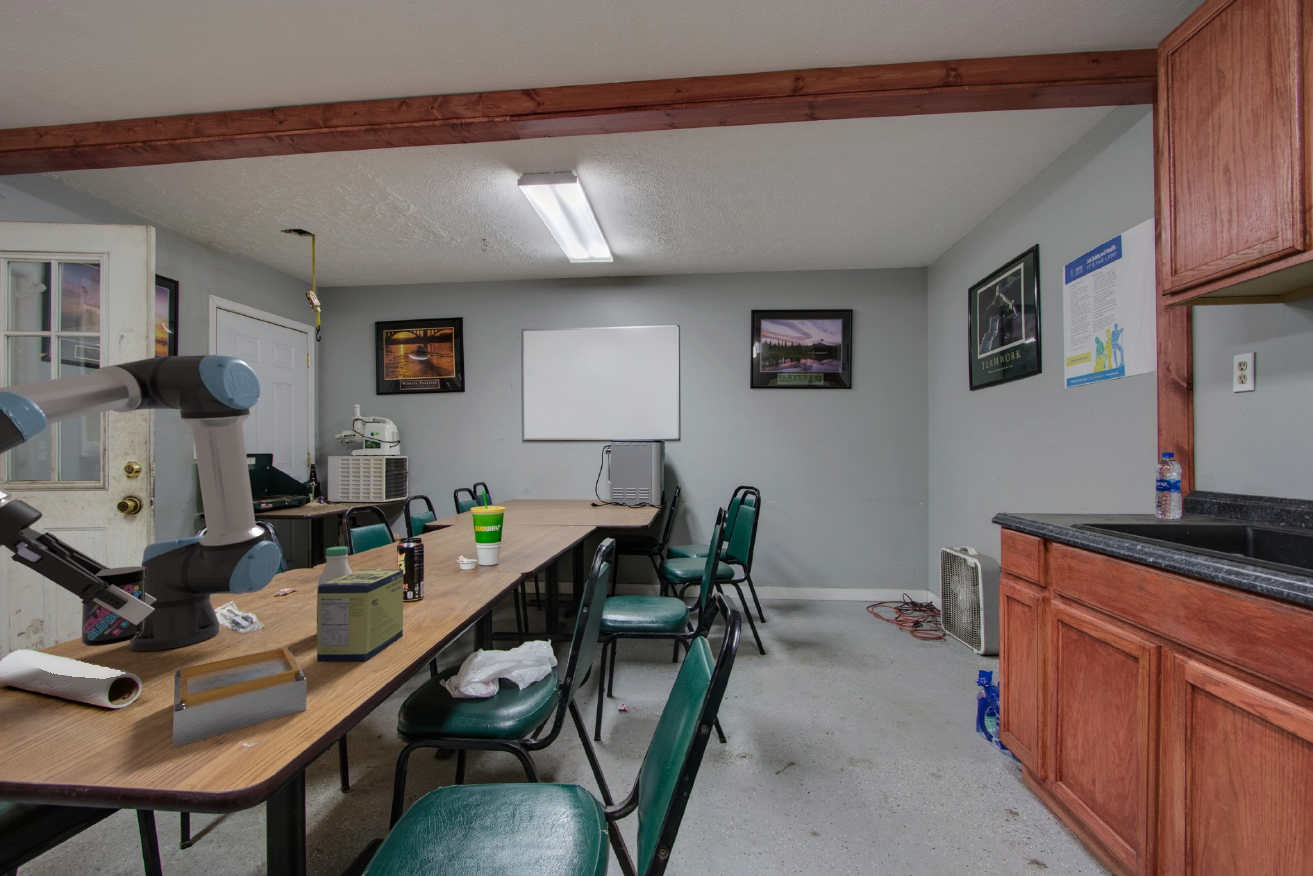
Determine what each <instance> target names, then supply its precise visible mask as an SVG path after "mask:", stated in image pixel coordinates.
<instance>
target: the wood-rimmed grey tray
mask: <svg viewBox="0 0 1313 876" xmlns="http://www.w3.org/2000/svg"><path fill="white" fill-rule="evenodd" d="M307 683H308V680H307V677H306V673H304V671H302V669H301V666H300V665H299V663H298V662H297V660H296V658H295V656H294V655H293V653H292V651H291V647H288V646H285V647H284V646H283V647H279V648H276V649H270V650H269V649H268V650H264V651H259V652H255V653H249V654H245V655H241V656H236V657H231V658H227V659H226V658H225V659H221V660H218V661H217V660H216V661H212V662H208V663H202V664H198V665H193V666H188V667H187V666H186V667H183V668H180V669H178V670H176V671H175V674H174V684H173V685H174V688H173V689H174V691H173V724H172V725H173V726H172V748H177V747H181V746H184V745H187V744H191V743H194V742H198V741H202V740H205V739H210V738H212V737H216V736H220V735H223V734H226V733H230V732H234V731H237V730H241V729H245V728H248V727H252V726H256V725H259V724H262V723H266V722H269V720H270V721H273V720H276V719H280V718H283V717H287V716H290V715H294V714H297V713H301V711H302V712H305V711H307V693H308V691H307V689H308V686H307Z"/></svg>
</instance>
